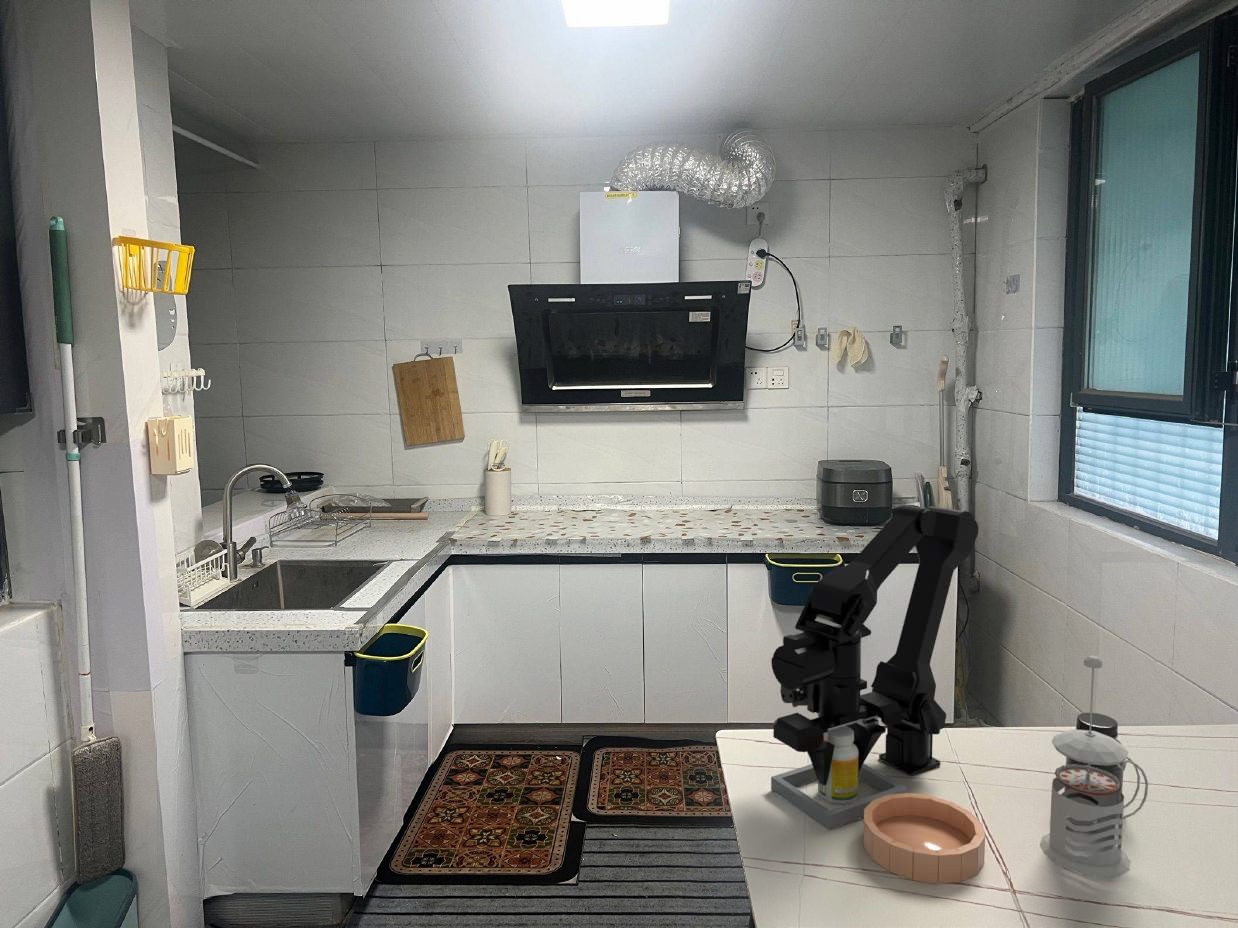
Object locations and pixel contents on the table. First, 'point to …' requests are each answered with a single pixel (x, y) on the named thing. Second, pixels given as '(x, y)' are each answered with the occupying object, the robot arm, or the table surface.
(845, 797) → the supplement bottle
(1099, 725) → the supplement bottle
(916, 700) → the robot arm
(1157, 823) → the table surface
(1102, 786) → the french press
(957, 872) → the bowl
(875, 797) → the open rectangular frame
